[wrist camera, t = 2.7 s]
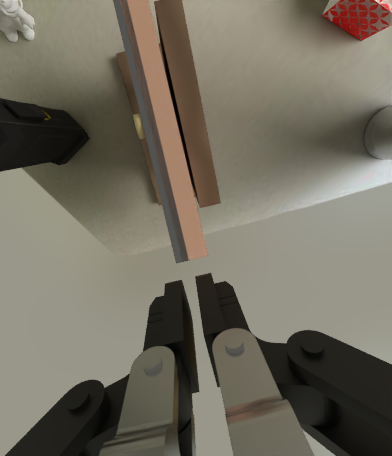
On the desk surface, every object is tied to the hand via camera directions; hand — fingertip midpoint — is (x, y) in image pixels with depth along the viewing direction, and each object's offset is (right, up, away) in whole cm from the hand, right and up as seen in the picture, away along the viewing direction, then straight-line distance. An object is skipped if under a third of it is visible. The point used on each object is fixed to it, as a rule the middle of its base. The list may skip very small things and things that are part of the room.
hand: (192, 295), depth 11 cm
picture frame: (-3, +12, +23) cm, 26 cm away
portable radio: (-22, +19, +31) cm, 42 cm away
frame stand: (-4, +20, +32) cm, 38 cm away
